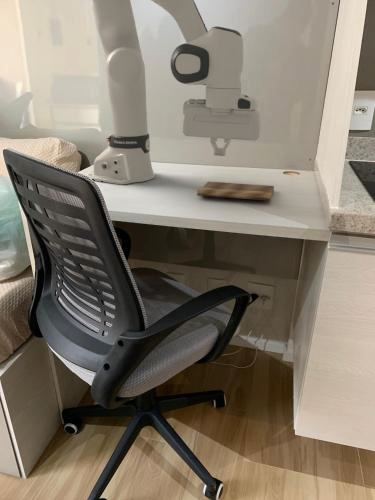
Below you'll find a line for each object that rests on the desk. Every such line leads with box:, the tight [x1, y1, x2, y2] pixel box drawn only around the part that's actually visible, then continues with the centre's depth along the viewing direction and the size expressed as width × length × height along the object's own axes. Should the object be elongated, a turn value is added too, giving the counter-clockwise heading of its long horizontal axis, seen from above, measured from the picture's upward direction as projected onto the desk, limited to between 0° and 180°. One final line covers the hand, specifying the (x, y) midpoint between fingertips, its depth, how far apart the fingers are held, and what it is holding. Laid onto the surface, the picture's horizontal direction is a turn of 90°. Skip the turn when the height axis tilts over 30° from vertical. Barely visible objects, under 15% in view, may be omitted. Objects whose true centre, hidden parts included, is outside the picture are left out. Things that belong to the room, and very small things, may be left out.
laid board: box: [203, 181, 275, 196], centre depth 116 cm, size 20×6×2 cm, turn 74°
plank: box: [196, 186, 273, 201], centre depth 110 cm, size 20×7×2 cm, turn 74°
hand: (219, 155), depth 106 cm, fingers closed
